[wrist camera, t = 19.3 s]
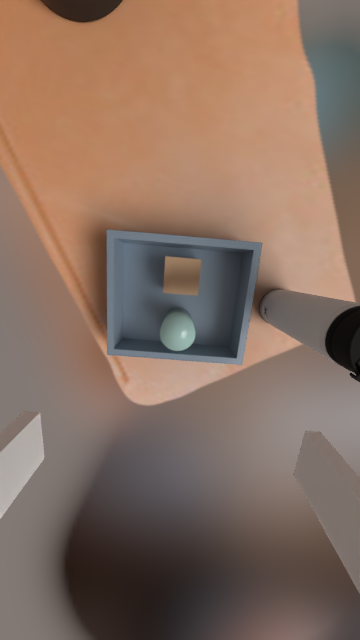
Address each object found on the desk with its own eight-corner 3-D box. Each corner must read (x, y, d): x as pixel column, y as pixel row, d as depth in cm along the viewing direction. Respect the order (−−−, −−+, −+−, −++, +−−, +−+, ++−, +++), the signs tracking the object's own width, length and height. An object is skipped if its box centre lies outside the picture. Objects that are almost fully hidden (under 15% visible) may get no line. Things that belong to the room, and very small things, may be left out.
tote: (119, 236, 33) (106, 229, 27) (248, 247, 33) (262, 242, 27) (118, 341, 37) (107, 354, 31) (232, 350, 37) (242, 364, 32)
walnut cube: (167, 258, 33) (165, 256, 28) (198, 261, 33) (201, 259, 28) (165, 289, 34) (163, 292, 29) (195, 292, 34) (197, 295, 29)
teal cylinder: (159, 312, 35) (154, 323, 28) (187, 303, 34) (189, 311, 28) (169, 339, 36) (166, 355, 29) (196, 330, 36) (199, 344, 29)
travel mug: (250, 315, 36) (333, 367, 16) (272, 282, 35) (391, 296, 15) (279, 331, 37) (391, 400, 17) (302, 300, 35) (451, 336, 16)
